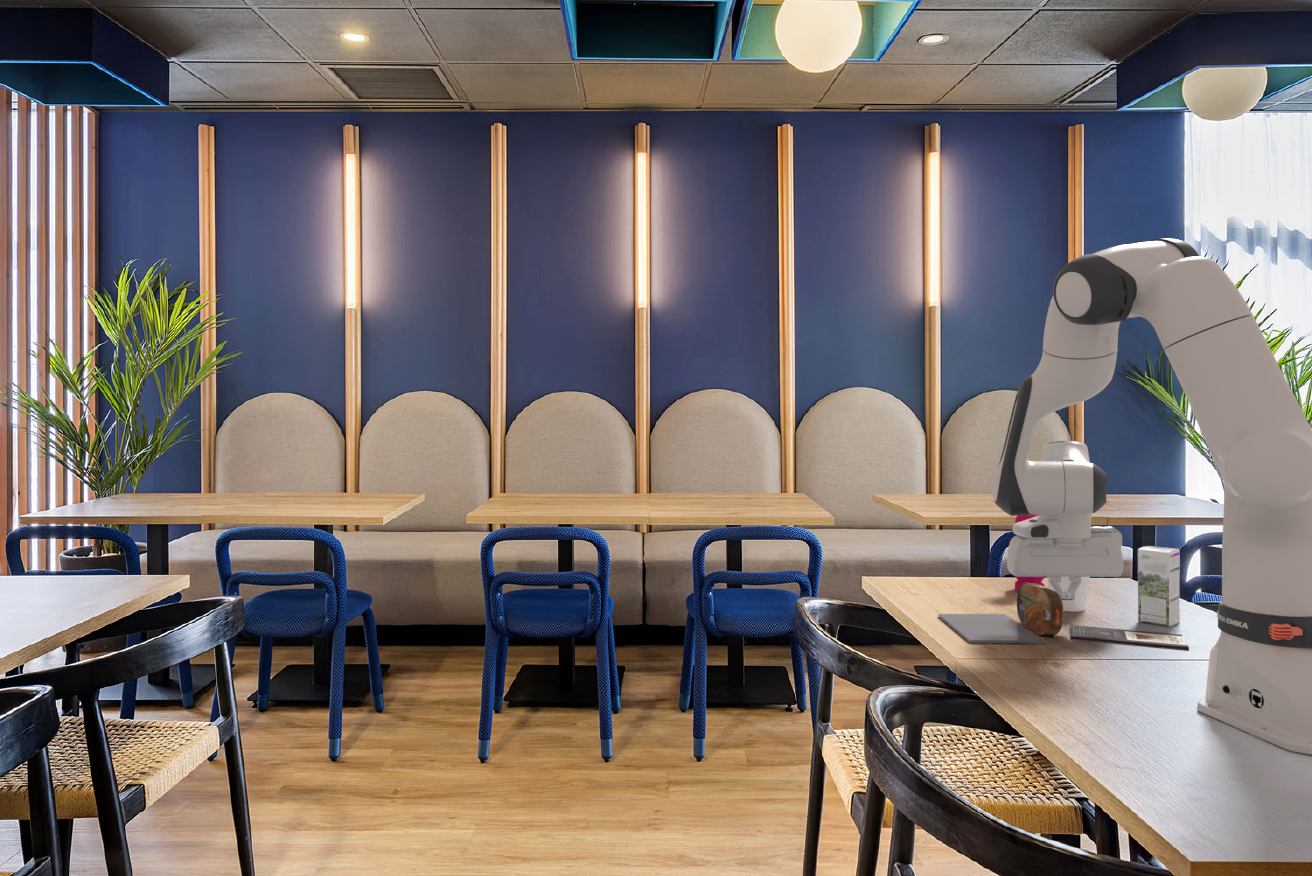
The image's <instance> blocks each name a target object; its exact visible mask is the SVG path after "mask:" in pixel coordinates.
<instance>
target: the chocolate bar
mask: <svg viewBox="0 0 1312 876" xmlns="http://www.w3.org/2000/svg"><path fill="white" fill-rule="evenodd" d="M1069 628H1070V629H1069V630H1070V639H1071V640H1073V641H1074V640H1075V641H1085V642H1095V643H1097V642H1098V643H1108V644H1117V645H1120V644H1121V645H1131V646H1140V647H1152V648H1162V649H1170V650H1171V649H1172V650H1180V651H1181V650H1184V651H1190V647H1189V645H1188V643H1187V641H1186V640H1185V638H1184V636H1183V634H1178V633H1168V632H1167V633H1166V632H1158V631H1156V632H1155V631H1146V630H1145V631H1144V630H1143V631H1142V630H1134V629H1133V630H1131V629H1122V628H1120V629H1119V628H1110V627H1109V628H1108V627H1098V626H1097V627H1096V626H1087V625H1076V624H1070V625H1069Z"/></svg>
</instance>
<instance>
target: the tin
mask: <svg viewBox="0 0 1312 876" xmlns="http://www.w3.org/2000/svg"><path fill="white" fill-rule="evenodd" d="M1016 596H1017V597H1016V610H1017V616H1018V619H1019V621H1020V623H1021V625H1022V626H1024V625H1025V626H1024V627H1025V628H1027V629H1028V630H1030V631H1033V632H1034V633H1035V634H1037V635H1040V636H1044V635H1045V636H1046V635H1047V636H1056V635H1057V634H1059V633H1060V632H1061V630H1062V627H1063V616H1064V615H1063V612H1064V611H1063V604H1062V601H1061V598H1060V596H1059V595H1058V593H1057V592H1055V591H1053V590H1051V589H1049V587H1045V585H1044V586H1041V585H1039V584H1034V583H1026V582H1025V583H1023V584H1022V585H1021V586H1020V588H1019V591H1017V595H1016Z"/></svg>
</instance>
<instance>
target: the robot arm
mask: <svg viewBox="0 0 1312 876" xmlns="http://www.w3.org/2000/svg"><path fill="white" fill-rule="evenodd" d="M1052 292H1053V295H1052V297H1051V299H1050V302H1049V305H1048V309H1047V313H1046V319H1045V324H1044V331H1043V340H1042V341H1043V342H1042V352H1041V355H1042V356H1041V359H1040V362H1039V364H1038V366H1037V367H1036V369H1035V370H1034V371H1033V373H1032V374H1031V375H1029V376H1028V377H1025V378H1023V380H1021V382H1020V384H1019V387H1018V389H1017V391H1016V396H1015V398H1014V399H1015V400H1014V402H1013V405H1012V406H1013V407H1012V411H1011V413H1010V414H1011V415H1010V419H1009V421H1008V422H1009V423H1008V426H1007V427H1008V428H1007V431H1006V435H1005V439H1004V443H1003V449H1002V452H1001V456H1000V461H999V463H998V466H997V469H996V471H995V473H994V477H993V480H992V497H993V500H994V504H995V505H996V506H997V507H998V508H999V509H1000V510H1001V511H1003V512H1005V513H1006V514H1008V515H1009V516H1011V517H1017V516H1020V515H1030V514H1039V516H1036V517H1033V518H1030V519H1027V520H1024V521H1021V522H1017V523H1015V522H1014V524H1013V525H1012V533H1013V534H1014V535H1015V536H1013V537H1012V538H1011V539H1010V541H1009V544H1008V549H1007V560H1006V561H1007V563H1006V564H1007V565H1006V568H1007V570H1008V572H1009V573H1010V574H1011V575H1013V576H1014V575H1015V576H1017V577H1045V578H1047V577H1049V582H1050V583H1051V585H1052V586H1053V588H1054V590H1055V592H1057V593H1058V595H1059V596H1060V598H1061V600H1075V591H1076V590H1077V588H1078V587H1079V585H1080V584H1081V577H1090V578H1092V577H1093V578H1094V577H1095V578H1097V577H1098V578H1100V577H1103V578H1106V577H1107V578H1111V577H1113V578H1116V577H1117V578H1118V577H1121V575H1122V574H1123V572H1124V570H1125V569H1124V568H1125V566H1124V557H1123V551H1122V546H1123V536H1122V535H1123V534H1122V532H1120V531H1119V530H1118V529H1116V528H1115V527H1113V526H1104V527H1103V526H1092V514H1095V513H1097V512H1098V511H1099V510H1100V509H1102V508H1103V506H1105V505H1106V504H1107V501H1108V500H1107V476H1108V475H1107V473H1106V472H1105V471H1104V470H1103V469H1102V468H1101V467H1099V466H1098V465H1096V464H1095V463H1094V462H1091V461H1090V455H1089V450H1088V449H1089V448H1088V446H1087V444H1086V443H1083V442H1082V441H1076V440H1057V441H1050V442H1047V443H1046V444H1044V445H1043V446H1042V450H1041V455H1040V460H1039V461H1038V460H1028V455H1029V452H1030V449H1031V443H1032V440H1033V439H1032V438H1033V435H1034V432H1035V428H1036V426H1037V424H1038V423H1039V422H1040V421H1041V420H1042V419H1043V418H1045V417H1046V416H1048V415H1050V414H1052V413H1054V412H1057V411H1059V410H1061V409H1064V408H1067V407H1071V406H1074V405H1077V404H1081V403H1083V402H1085V401H1087V400H1090V399H1092V398H1093V397H1096V395H1098V394H1100V393H1101V392H1102V391H1103V390H1104V389H1105V388H1107V386H1108V385H1109V384H1110V382H1111V381H1112V379H1113V376H1114V373H1115V370H1116V369H1115V368H1116V365H1117V364H1116V363H1117V356H1118V341H1119V340H1118V339H1119V329H1120V324H1121V322H1125V321H1126V320H1127V319H1131V318H1132V319H1133V318H1134V319H1135V318H1137V317H1141V318H1143V319H1145V320H1146V321H1148V322H1149V323H1150V324H1151V326H1152V328H1154V331H1155V333H1156V335H1157V337H1158V340H1159V341H1160V344H1161V346H1162V349H1163V350H1164V353H1165V355H1166V357H1167V359H1168V361H1169V363H1170V365H1171V367H1172V370H1173V371H1174V373H1175V375H1176V378H1177V380H1178V382H1179V385H1180V386H1181V388H1182V390H1183V392H1184V395H1185V396H1186V399H1187V401H1188V404H1189V406H1190V407H1191V410H1192V413H1193V415H1194V417H1195V419H1196V422H1197V425H1198V427H1199V430H1200V431H1201V434H1202V437H1203V439H1204V441H1205V443H1206V446H1207V448H1208V450H1209V452H1210V454H1211V457H1212V459H1213V461H1214V464H1215V466H1216V468H1217V471H1218V473H1219V475H1220V478H1221V480H1222V482H1223V486H1224V488H1223V489H1224V490H1223V520H1222V521H1223V523H1222V542H1221V576H1222V577H1221V594H1222V595H1221V601H1219V603H1218V604H1217V605H1218V609H1217V612H1216V618H1217V628H1218V629H1219V630H1220V634H1219V637H1218V639H1217V641H1216V643H1215V644H1214V645H1213V647H1212V648H1211V650H1210V651H1209V661H1208V670H1207V676H1206V677H1207V679H1206V680H1207V681H1206V691H1205V698H1203V699H1199V701H1198V702H1197V708H1196V709H1197V711H1199V712H1200V713H1203V714H1205V715H1208V716H1210V717H1212V718H1214V719H1217V720H1219V721H1221V722H1224V723H1226V724H1227V725H1230V726H1232V727H1235V728H1236V729H1239V730H1242V731H1244V732H1247V733H1249V734H1251V735H1253V736H1255V737H1257V738H1260V739H1262V740H1264V741H1267V742H1268V743H1271V744H1273V745H1276V746H1278V747H1281V748H1283V749H1285V750H1287V751H1290V752H1295V753H1300V754H1306V755H1312V427H1311V426H1310V423H1309V422H1308V419H1307V418H1306V415H1305V414H1304V412H1303V410H1302V408H1301V406H1300V404H1299V402H1298V400H1297V398H1296V396H1295V395H1294V392H1293V391H1292V389H1291V387H1290V385H1289V383H1288V382H1287V379H1286V377H1285V375H1284V374H1283V371H1282V369H1281V368H1280V366H1279V364H1278V362H1277V360H1276V358H1275V356H1274V354H1273V352H1272V350H1271V348H1270V346H1269V343H1268V342H1267V340H1266V338H1265V336H1264V334H1263V332H1262V330H1261V328H1260V326H1259V324H1258V321H1256V319H1255V317H1254V315H1253V312H1252V310H1251V309H1250V308H1249V306H1248V304H1247V302H1246V300H1245V299H1244V297H1243V295H1242V293H1241V292H1240V291H1239V289H1238V288H1237V287H1236V285H1235V283H1234V282H1233V281H1232V280H1231V278H1230V277H1229V276H1228V274H1227V273H1226V272H1225V271H1224V269H1222V267H1221V266H1220V265H1219V264H1218V263H1217V262H1216V261H1215V260H1213V259H1210V258H1209V257H1205V256H1200V255H1199V253H1198V251H1197V250H1196V249H1195V248H1194V246H1192V245H1191V244H1190V243H1188V242H1186V241H1184V240H1180V239H1176V238H1155V239H1151V240H1149V241H1142V242H1135V243H1134V242H1133V243H1129V244H1120V245H1119V244H1118V245H1116V246H1111V247H1108V248H1106V249H1102V250H1099V251H1096V252H1095V253H1088V254H1084V255H1082V256H1078V257H1077V258H1075V259H1073V260H1071V261H1069V262H1068V263H1066V264H1065V265H1064V266H1062V268H1060V269H1059V271H1058V273H1057V274H1056V276H1055V279H1054V282H1053V287H1052ZM1015 576H1014V577H1015ZM1061 577H1069V580H1070V581H1071V583H1070V585H1069V587H1068V589H1067V590H1062V589H1061V588H1060V586H1059V584H1058V582H1061Z"/></svg>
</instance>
